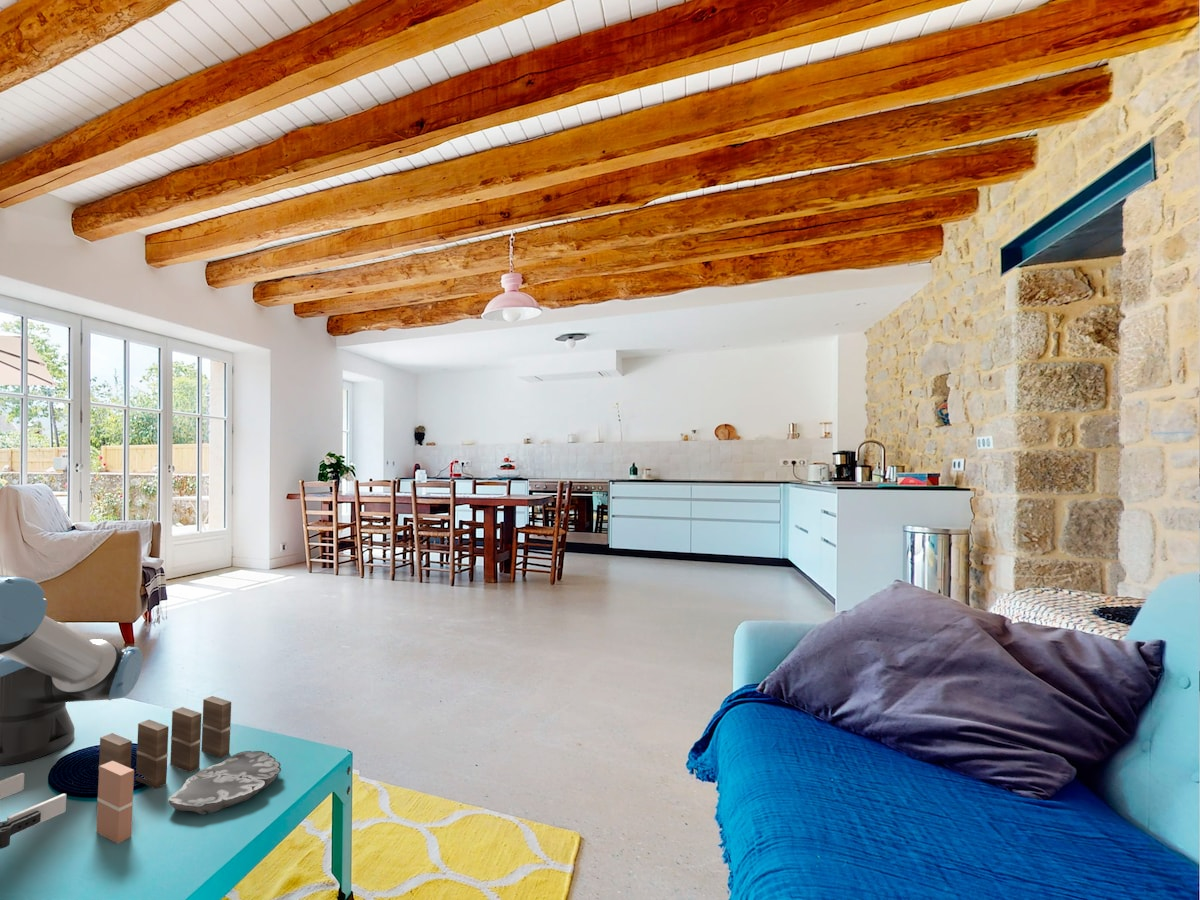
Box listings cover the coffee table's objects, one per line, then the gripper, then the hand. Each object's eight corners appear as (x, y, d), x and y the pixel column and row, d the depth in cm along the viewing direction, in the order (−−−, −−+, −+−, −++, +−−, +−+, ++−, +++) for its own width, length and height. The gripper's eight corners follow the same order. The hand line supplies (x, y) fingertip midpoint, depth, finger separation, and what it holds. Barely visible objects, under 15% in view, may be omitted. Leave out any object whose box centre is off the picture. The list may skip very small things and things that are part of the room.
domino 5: (220, 758, 124) (222, 705, 124) (201, 750, 127) (203, 699, 127) (229, 753, 126) (231, 701, 126) (210, 746, 128) (212, 695, 129)
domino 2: (117, 843, 96) (120, 775, 96) (95, 832, 99) (98, 766, 99) (131, 836, 98) (134, 769, 98) (109, 825, 101) (112, 760, 101)
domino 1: (117, 807, 106) (119, 745, 106) (97, 797, 109) (99, 737, 109) (129, 801, 108) (132, 740, 108) (110, 791, 111) (112, 732, 111)
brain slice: (233, 826, 102) (234, 810, 102) (152, 817, 103) (152, 802, 104) (301, 767, 121) (302, 754, 121) (231, 761, 123) (232, 748, 123)
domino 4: (189, 772, 118) (191, 717, 118) (169, 764, 121) (172, 710, 121) (199, 767, 120) (201, 713, 120) (180, 760, 123) (182, 706, 123)
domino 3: (155, 789, 112) (157, 730, 112) (135, 780, 115) (137, 723, 115) (166, 783, 114) (168, 726, 114) (146, 775, 117) (149, 719, 117)
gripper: (-211, 879, 75) (5, 795, 94) (-143, 945, 65) (82, 836, 84) (-207, 823, 75) (8, 751, 94) (-139, 881, 65) (85, 787, 84)
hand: (43, 791), depth 89 cm, fingers open, 13 cm apart
